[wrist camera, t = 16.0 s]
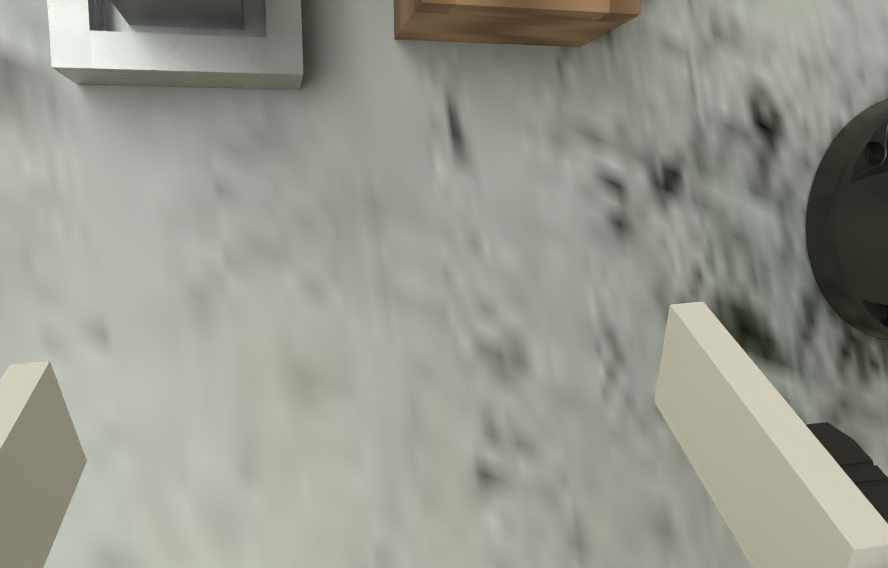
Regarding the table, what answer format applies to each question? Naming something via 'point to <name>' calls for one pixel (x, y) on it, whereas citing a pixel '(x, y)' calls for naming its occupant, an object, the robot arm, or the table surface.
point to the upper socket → (511, 20)
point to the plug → (183, 13)
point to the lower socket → (177, 48)
